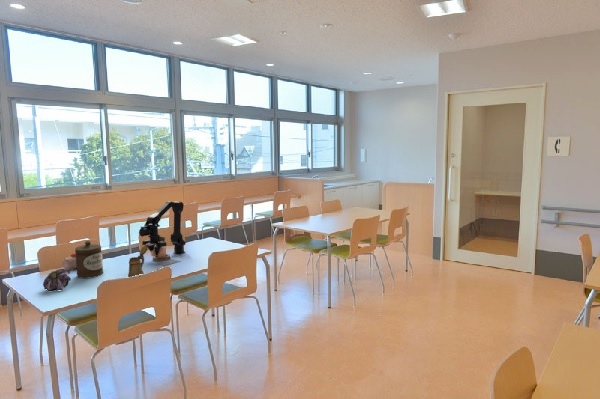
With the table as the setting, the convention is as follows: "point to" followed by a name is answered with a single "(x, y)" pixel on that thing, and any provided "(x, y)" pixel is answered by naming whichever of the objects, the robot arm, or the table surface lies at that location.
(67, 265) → the food item
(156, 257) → the collar
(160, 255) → the peach rounded piece
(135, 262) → the wooden mug
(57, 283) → the decorative flower
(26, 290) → the table surface
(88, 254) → the wooden container
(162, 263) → the mat
